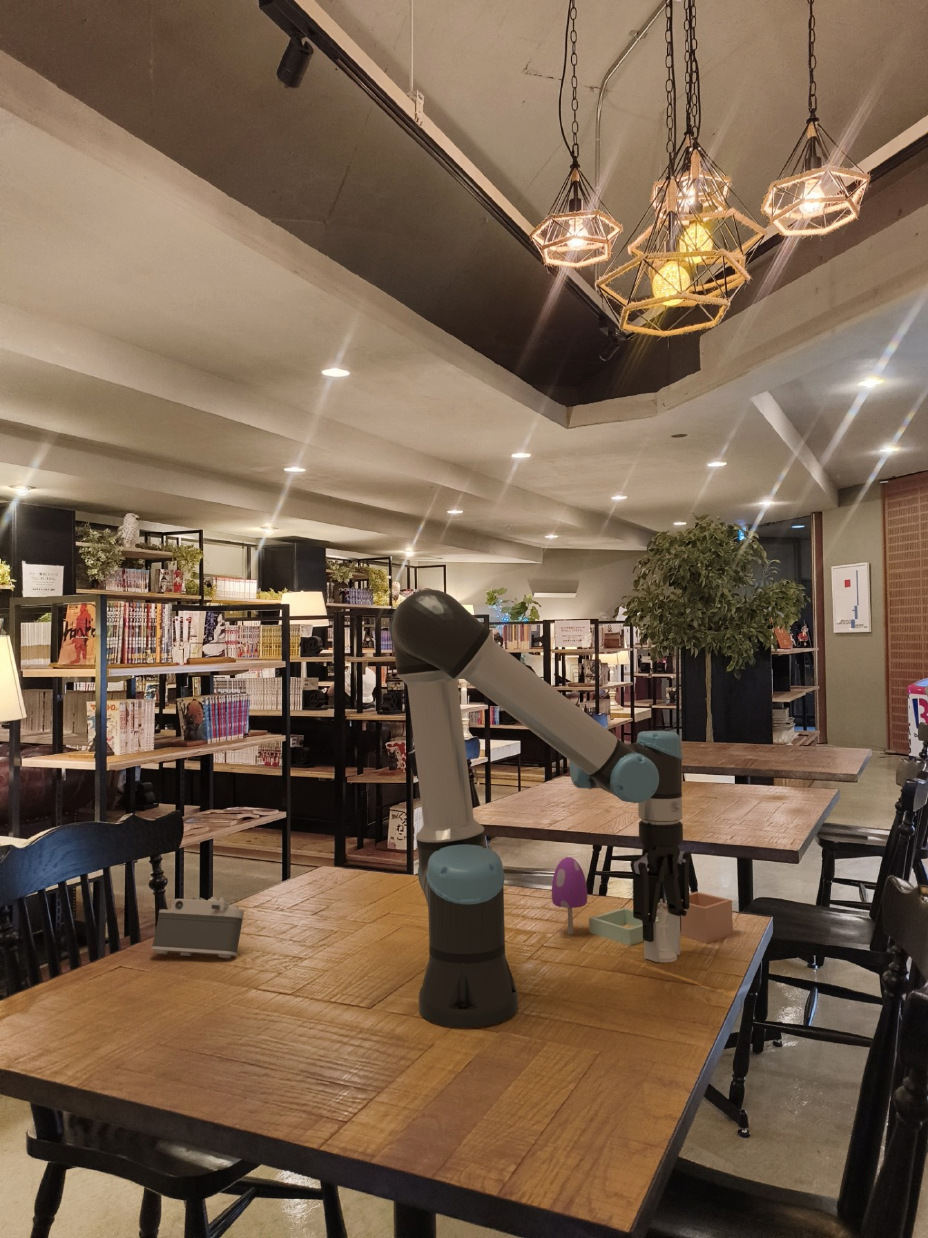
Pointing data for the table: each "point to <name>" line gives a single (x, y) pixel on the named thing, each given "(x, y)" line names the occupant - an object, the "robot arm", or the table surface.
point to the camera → (199, 928)
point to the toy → (569, 887)
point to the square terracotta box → (707, 918)
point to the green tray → (618, 926)
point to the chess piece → (664, 935)
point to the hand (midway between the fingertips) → (662, 955)
